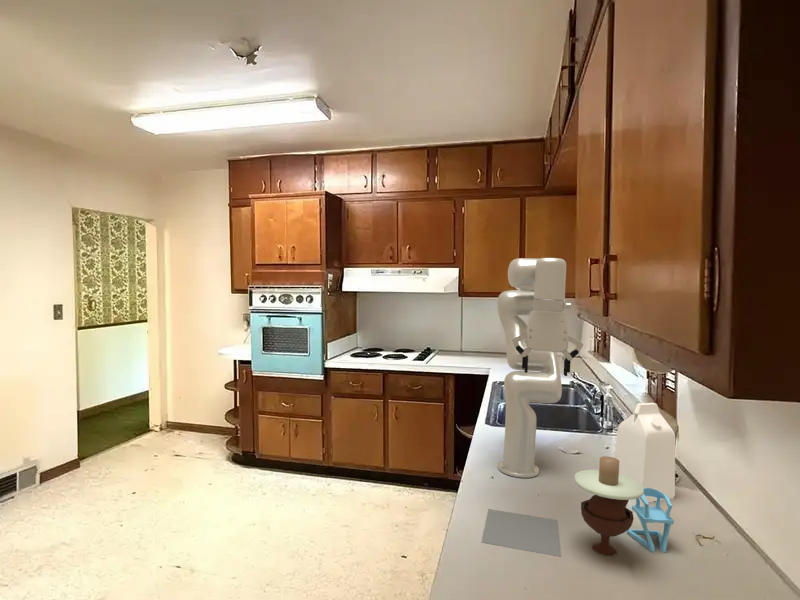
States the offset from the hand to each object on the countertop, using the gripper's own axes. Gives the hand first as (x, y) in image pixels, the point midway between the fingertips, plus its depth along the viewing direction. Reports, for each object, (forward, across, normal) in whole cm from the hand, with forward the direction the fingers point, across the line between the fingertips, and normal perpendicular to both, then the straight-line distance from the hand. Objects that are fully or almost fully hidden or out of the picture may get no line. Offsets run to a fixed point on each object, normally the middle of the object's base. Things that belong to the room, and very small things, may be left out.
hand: (545, 373), depth 123 cm
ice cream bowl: (+36, -14, +14) cm, 42 cm away
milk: (+37, -29, -24) cm, 53 cm away
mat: (+36, +4, +12) cm, 38 cm away
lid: (+21, -14, +14) cm, 29 cm away
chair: (+36, -25, +6) cm, 45 cm away
